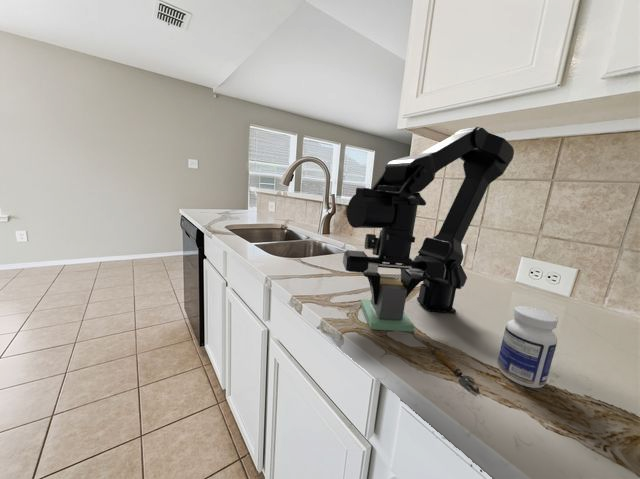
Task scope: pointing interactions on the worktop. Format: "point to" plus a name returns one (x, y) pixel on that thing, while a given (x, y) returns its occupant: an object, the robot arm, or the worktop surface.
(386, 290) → the block
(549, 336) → the pill bottle
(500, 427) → the worktop surface
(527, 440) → the worktop surface
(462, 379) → the can opener
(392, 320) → the board
